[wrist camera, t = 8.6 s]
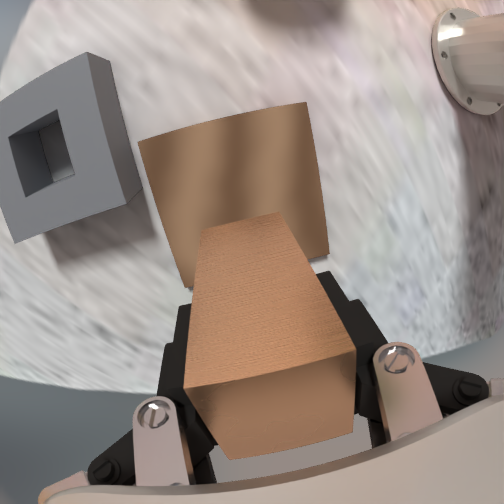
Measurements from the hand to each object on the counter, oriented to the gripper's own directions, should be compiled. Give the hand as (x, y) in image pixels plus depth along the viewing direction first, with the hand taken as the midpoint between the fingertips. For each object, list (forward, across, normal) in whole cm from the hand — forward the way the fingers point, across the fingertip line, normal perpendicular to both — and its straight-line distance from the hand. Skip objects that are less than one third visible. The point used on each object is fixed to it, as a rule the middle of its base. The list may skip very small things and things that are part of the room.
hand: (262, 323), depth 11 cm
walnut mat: (+17, 0, 0) cm, 17 cm away
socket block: (+17, +14, -9) cm, 24 cm away
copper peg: (+6, 0, 0) cm, 6 cm away
